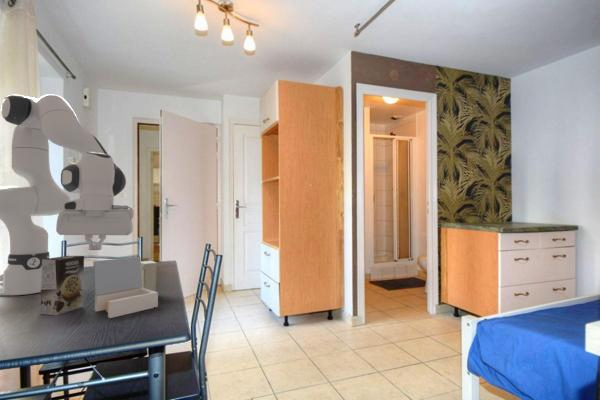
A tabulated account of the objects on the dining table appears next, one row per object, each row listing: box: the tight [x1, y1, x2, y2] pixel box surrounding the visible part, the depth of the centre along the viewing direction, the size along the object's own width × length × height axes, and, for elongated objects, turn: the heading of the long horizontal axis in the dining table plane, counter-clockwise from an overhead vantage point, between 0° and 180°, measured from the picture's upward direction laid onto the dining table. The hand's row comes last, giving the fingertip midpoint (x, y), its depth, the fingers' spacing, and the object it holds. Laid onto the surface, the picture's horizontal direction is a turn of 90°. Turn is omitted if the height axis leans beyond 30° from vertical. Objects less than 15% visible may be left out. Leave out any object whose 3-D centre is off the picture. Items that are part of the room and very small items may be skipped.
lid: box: [92, 256, 142, 297], centre depth 106 cm, size 10×14×1 cm
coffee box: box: [39, 255, 85, 316], centre depth 100 cm, size 9×6×16 cm
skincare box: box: [140, 260, 158, 292], centre depth 116 cm, size 6×4×12 cm
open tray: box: [94, 287, 159, 319], centre depth 102 cm, size 11×14×4 cm
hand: (95, 249), depth 101 cm, fingers closed
